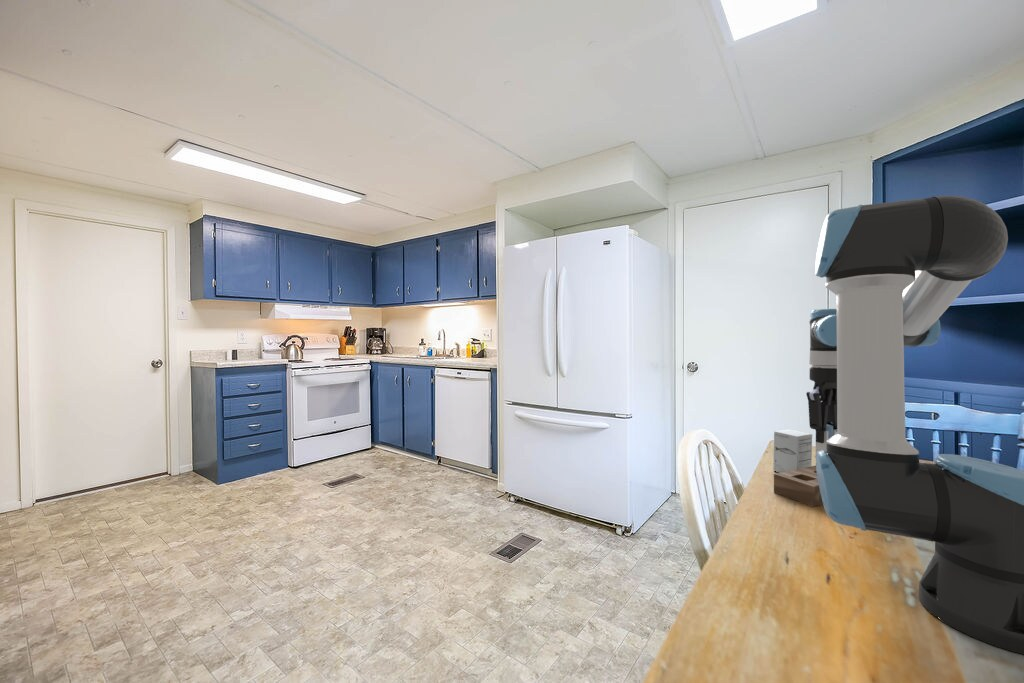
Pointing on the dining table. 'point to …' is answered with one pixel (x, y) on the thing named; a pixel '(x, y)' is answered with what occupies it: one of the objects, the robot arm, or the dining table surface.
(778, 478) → the hole block
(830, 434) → the peg
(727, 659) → the dining table surface
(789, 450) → the supplement box
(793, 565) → the dining table surface
